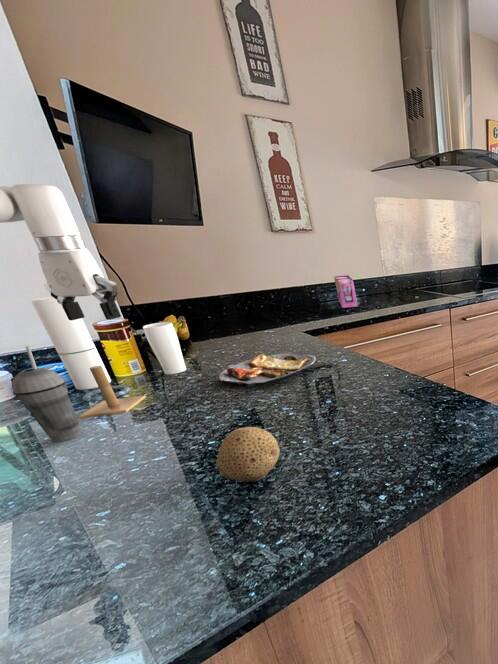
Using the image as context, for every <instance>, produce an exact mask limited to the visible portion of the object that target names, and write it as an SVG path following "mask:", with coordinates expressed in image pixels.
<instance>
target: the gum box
mask: <svg viewBox="0 0 498 664" xmlns="http://www.w3.org/2000/svg"><path fill="white" fill-rule="evenodd" d="M333 279H334V284H335V288H336V293H337V298H338V302H339V304H340V306H341V308H342V309H347V308H355V307H356V308H357V307H358V306H359V305H358V300H357V294H356V290H355V289H356V288H355V284H354V280H353V278H351V276H350V275H347V274H346V275H336V276H334V277H333Z"/></svg>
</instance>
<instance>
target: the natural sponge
mask: <svg viewBox="0 0 498 664" xmlns="http://www.w3.org/2000/svg"><path fill="white" fill-rule="evenodd" d="M217 453H218V454H217V458H216V462H215V467H216V469H217V471H218V472H219V474H220V476H222V477H223V478H226V479H230V480H235V481H239V482H249V483H251V482H253V483H254V482H258V481H261V480H262V479H264V478H265V477H266V476H267V475H268V474H269V473H270V471H271V470H272V469H273V468H274V467H275V466H276V464H277V462H278V460H279V456H280V455H281V451H280V446H279V443H278V441H277V439H276V438H275V437H274V436H273V435H272V434H271V433H270V432H269V431H268V430H266V429H264V428H261V427H257V426H246V427H244V426H243V427H238V428H236V429H234V430H233V431H231V432H229V433H228V434H227V435H226V436H225V438H223V440H222V442H221V444H220V447H219V449H218V452H217Z"/></svg>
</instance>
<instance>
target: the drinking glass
mask: <svg viewBox="0 0 498 664" xmlns="http://www.w3.org/2000/svg"><path fill="white" fill-rule="evenodd" d="M142 330H143V332H144V335H145V338H146V340H147V343H148V344H149V346H150V348H151V350H152V352H153V353H154V355H155V357H156V359H157V361H158V363H159V365H160V367H161V369H162V371H163V373H164V374H165V375H174V374H179V373H183V372H185V371H187V366H186V363H185V360H184V359H185V358H184V356H183V352H182V349H181V344H180V341H179V337H178V334H177V332H176V329H175V327H174V324H173V322H171V321H164V322H155V323H150V324H146V325H143V326H142Z"/></svg>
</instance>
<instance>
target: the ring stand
mask: <svg viewBox="0 0 498 664" xmlns="http://www.w3.org/2000/svg"><path fill="white" fill-rule="evenodd" d="M90 370H91V372H92V375H93V377H94V379H95V381H96V383H97V385H98V387H97V388H98V389H100V391H101V392H100V393H101V395H102V396H103V397H104V399H105V400H101V401H100V402H98V403H96V404H95V405H94V406H92V407H91V408H89V409H88V410H86V411H85V412H83V413H82V414H80V415H79V416H78V419H85V418H93V417H100V416H109V415H116V414H123V413H127V412H129V411H130V410H131V409H133V408H134V407H136V406H137V405H138V404H140V403H141V402H143V400H145V399H146V398H147V396H146V395H138V396H137V395H136V396H129V397H121V398H117V397H116V396H115V394H114V393H115V391H114V390H112V387H111V386H112V385H111V382H110V383H109V381H108V379H107V377H106V375H105V373H104V371H103V368H102V366H93V367H91V368H90Z"/></svg>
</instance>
